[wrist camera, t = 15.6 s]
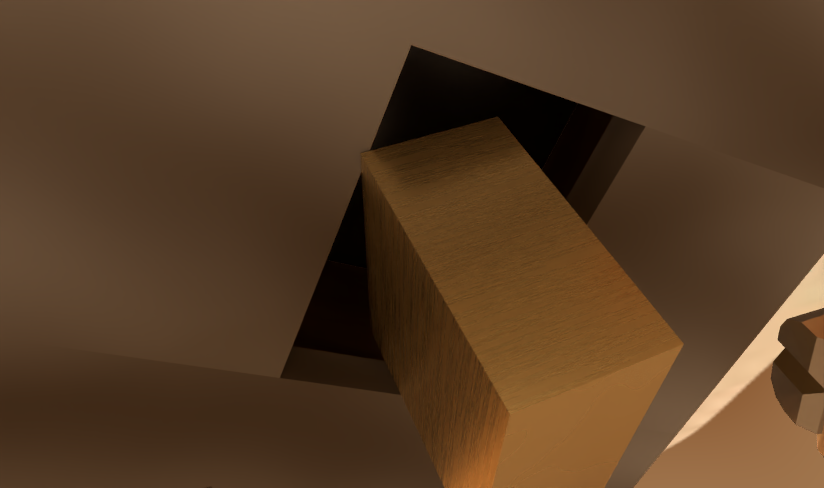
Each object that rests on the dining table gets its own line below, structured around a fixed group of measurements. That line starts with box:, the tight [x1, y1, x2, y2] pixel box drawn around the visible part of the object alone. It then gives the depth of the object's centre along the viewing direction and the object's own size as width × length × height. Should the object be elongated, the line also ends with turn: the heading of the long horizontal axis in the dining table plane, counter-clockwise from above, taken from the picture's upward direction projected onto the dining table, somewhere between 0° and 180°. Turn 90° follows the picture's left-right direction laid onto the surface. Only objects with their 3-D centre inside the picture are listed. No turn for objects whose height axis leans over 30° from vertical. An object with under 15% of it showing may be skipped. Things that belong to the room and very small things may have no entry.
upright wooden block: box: [360, 117, 684, 488], centre depth 12 cm, size 5×2×5 cm, turn 2°
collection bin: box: [0, 0, 824, 488], centre depth 17 cm, size 16×16×10 cm
